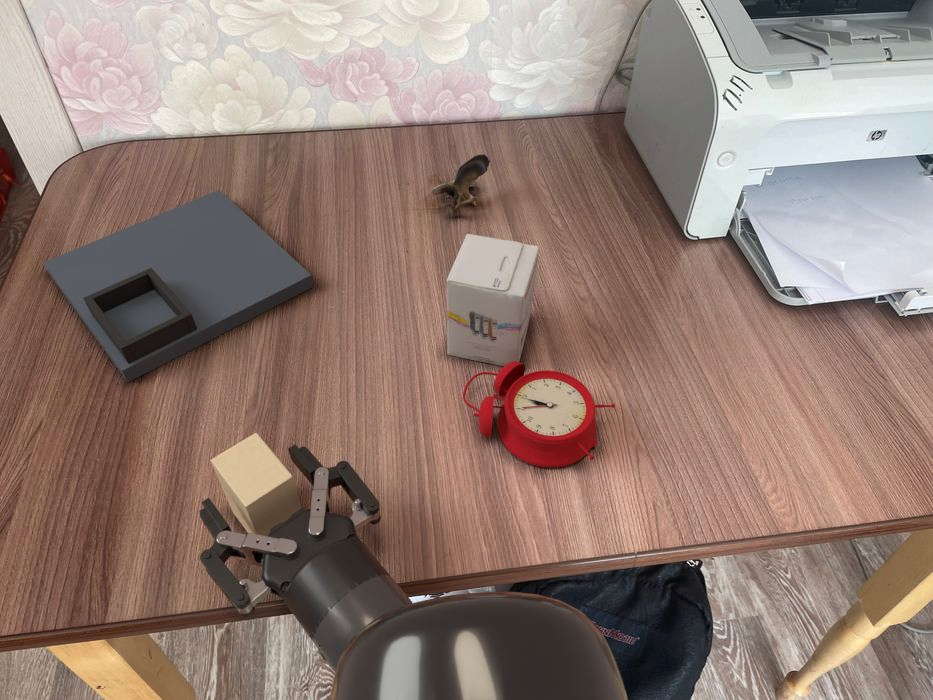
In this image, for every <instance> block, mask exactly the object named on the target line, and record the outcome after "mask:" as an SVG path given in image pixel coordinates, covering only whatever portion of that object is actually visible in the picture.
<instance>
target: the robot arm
mask: <svg viewBox="0 0 933 700" xmlns="http://www.w3.org/2000/svg"><path fill="white" fill-rule="evenodd" d="M287 450H288V454H289V458H290V460H291V462H292V463H293V464H294V465H295V466H296V468H297V469H298V470H299V471H300V472H301V474H302V475H303V476H304V477H305V478H306V480H307V481H308V482H309V483H310V485H311V486H312V487H313V489H312V491H311V502H310V508H305V509H303V507H302V508H301V509H299V510H298V511H296V512H295V513H294V514H293V515H292V516H291V517H290V518H289V519H288V520H287V521H285V522H282V523H280V524H277V525H276V526H274V527H273V528H271V529H270V533H269V535H268V536H264V535H259V534H254V533H248V532H247V533H240V532H235V531H233V530H232V529H231V526H230V525H229V523H228V521H226V519H225V518H224V516H223V514H222V513H221V512H220V511H219V510H218V508H217V507H216V505H215V504H214V503H213V501H212V499H211V498H210V497H207V498H205V499H204V500H202V501H201V503H200V504H201V505H202V507H203V508H201V509H200V510H199V511H198V512H199V518H200V519H201V521H202V523H203V525H204V526H205V528H206V529H207V531H208V532H209V534H210V535H211V537H212V538H213V539H214V541H213V544H212V545H211V546H210V547H209V548H207V549H204V550H203V551H201V553H200V555H199V560H200V562H201V564H202V565H203V567H204V568H205V571H206V573H207V574H208V575H209V577H210V579H212V581H213V582H214V583H215V585H216V586H217V587H218V588H219V590H220V591H221V592H222V593H223V595H224V596H225V598H226V599H227V600H228V601H229V602H230V604H231V605H232V607H233V608H234V609H235V610H236V611H237V613H238V614H239V616H241V617H243V618H249V617H251V616H252V615H254V612H255V610H256V608H255V606H256V605H258V603H260V602H261V601H262V600H263V599H265V598H266V597H267V596H269V595H270V594H272V595H275V596H278V597H279V598H280V599H281V600H282V601H283V602H284V603H285V605H286V606H287V608H288V609H289V610H290V612H291V613H292V615H293V616H294V617H295V619H296V620H297V622H298V623H299V624H300V626H301V628H302V629H303V630H304V632H305V633H306V634H307V636H308V637H309V638H310V640H311V641H312V643H313V644H314V646H315V647H316V648H317V649H318V653H319V655H320V656H321V658H322V659H323V660H324V661H325V662H326V663H327V664H328V665H329V666H330V667H331V669H332V670H333V671H334V677H333V681H332V686H331V690H330V695H329V696H330V697H329V700H629V699H628V695H627V689H626V687H625V684H624V679H623V675H622V674H621V670H620V668H619V665H618V663H617V659H616V656H615V654H614V652H613V650H612V648H611V646H610V644H609V642H608V641H607V639H606V637H605V635H604V634H603V632H602V630H601V629H600V627H599V626H598V625H597V624H596V623H595V622H594V621H593V620H592V619H590V618H589V616H587V614H585V613H584V612H582V611H581V610H579V608H576V607H575V606H573V605H571V604H568V603H566V602H564V601H562V600H560V599H555V598H552V597H548V596H544V595H541V594H537V593H527V592H519V591H480V592H470V593H459V594H451V595H450V594H449V595H443V596H438V597H433V598H429V599H425V600H420V601H415V602H413V601H412V600H411V599H410V597H409V596H408V595H407V593H406V592H405V591H404V590H403V589H402V588H401V586H400V585H399V584H398V582H397V581H396V580H395V579H394V578H393V577H392V576H391V574H390V573H389V572H388V571H387V569H385V567H384V566H383V565H382V564H381V563H380V561H379V560H378V559H377V557H376V556H374V554H373V553H372V552H371V550H370V549H369V548H368V547H367V546H366V545H365V544H364V542H363V541H362V540H361V539H360V538H359V536H358V534H357V531H358V530H360V529H361V528H363V527H365V526H366V525H368V524H370V525H374V526H375V525H378V524H379V523H380V522H381V519H382V515H381V508H380V502H379V500H378V498H377V497H376V496H375V495H374V494H373V492H372V491H371V490H370V488H369V487H368V485H366V483H365V482H364V481H363V480H362V478H361V477H360V475H359V474H358V473H357V472H356V470H355V469H354V468H353V467H352V465H351V464H350V463H349V461H347V460H340V461H338V462H337V463H336V465H335V466H331V467H326V466H324V465H323V464H322V463H321V462H320V461H319V460H318V458H317V457H316V456H315V455H314V454H313V453H312V452H311V450H310V449H309V448H307V447H306V446H301V447H298V446H297V444H293V445H291V446H289V447H288V448H287ZM336 487H341V489H343V490H344V493H346V495H347V496H348V498H350V500H351V502H352V503H351V511H352V514H351V516H350V517H349V516H347V515H343V514H339V513H336V512H335V513H334V512H332V489H334V488H336ZM229 559H233V560H239V561H243V562H247V563H248V564H249V565H252V566H256V567H261V569H262V570H261V580H260V581H257V582H255V581H252V580H251V579H249V578H241V579H240V581H239V580H238V579H237V578H236V576H235V575H234V574H233V572H232V571H231V570H230V568H229V567H227V565H226V563H227V561H228V560H229Z"/></svg>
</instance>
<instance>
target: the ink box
mask: <svg viewBox="0 0 933 700" xmlns="http://www.w3.org/2000/svg"><path fill="white" fill-rule="evenodd" d="M539 251H540V246H539V245H533V244H526V243H522V242H520V241H515V240H510V239H509V240H508V239H500V238H496V237H492V236H491V237H490V236H484V235H479V234H472V233H467V234H466V235H465V237H464V239H463V242H462V244H461V245H460V249H459V251H458V253H457V255H456V258H455V260H454V263H453V264H452V267H451V269H450V271H449V274H448V276H447V279H446V309H447V310H446V311H447V312H446V313H447V315H446V328H447V329H446V330H447V335H446V336H447V341H446V342H447V343H446V345H447V347H446V350H447V355H448V356H452V357H457V358H460V359H464V360H465V359H466V360H471V361H476V362H479V363H480V362H481V363H486V364H490V365H495V366H501V367H504V366H505V365H506V364H508V363H510V362H513V361H518V362H520V360H521V356H522V353H523V349H524V345H525V341H526V338H527V333H528V330H529V327H530V322H531V317H532V309H533V302H534V301H533V300H534V293H535V283H536V276H537V269H538V268H537V267H538V260H539Z"/></svg>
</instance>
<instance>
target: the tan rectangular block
mask: <svg viewBox="0 0 933 700" xmlns="http://www.w3.org/2000/svg"><path fill="white" fill-rule="evenodd" d="M210 464H211V465H212V468H213V470H214V472H215V474H216V477H217V479H218V481H219V484H220V486H221V488H222V491H223V493H224V495H225V498H226V500H227V502H228V505H229V507H230V510H231V511H232V513H233V515H234V516H235V517H236V519H237V520H238V521H239V523H240V524H241V525H242V527H243V528H244V529H245V531H246V532H247V533H254V534H259V535H264V536H268V535H269V533H270V529H271V528H273V527H274V526H276V525H277V524H280V523H282V522H285V521H287V520H288V519H289V518H290V517H291V516H292V515H293V514H294V513H295V512H296V511H298V510H299V509H301V508H302V509H303V507H302V504H301V501H300V497H299V493H298V490H297V486H296V483H295V480H294V476H293V475H292V474H291V472H290V471H289V470H288V469H287V467H286V466H285V465H284V463H282V462H281V460H280V459H279V458H278V456H276V454H275V453H274V451H272V449H271V448H270V447H269V446H268V445H267V443H266V442H265V441H264V440H263V439H262V438H261V436H260V435H259V434H258V432H255V433H253V434H251V435H249V436H248V437H246V438H244V439H243V440H241V441H239V442H238V443H236V444H234V445H232V446H231V447H230V448H228V449H226V450H224V451H223V452H221V453H220V454H217V455H216V456H214V457H213V458H211V459H210Z"/></svg>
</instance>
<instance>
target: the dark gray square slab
mask: <svg viewBox="0 0 933 700" xmlns="http://www.w3.org/2000/svg"><path fill="white" fill-rule="evenodd" d="M42 264H43V266H44V267H45V269H46V272H48V275H49V276H50V278H51V279H52V280H53V281H54V283H55V285H56V286H57V287H58V288H59V290H60V292H62V294H63V295H64V296H65V298H66V300H67V301H68V302H69V303H70V305H71V306H72V308H73V309H74V311H75V312H76V313H77V315H78V317H80V319H81V320H82V322H83V323H84V324H85V326H86V327H87V328H88V330H89V331H90V333H91V334H92V335H93V337H94V338H95V339H96V341H97V342H98V344H99V345H100V346H101V348H102V349H103V351H104V352H105V353H106V354H107V356H108V358H109V359H110V360H111V362H112V363H113V364H114V365H115V367H116V368H117V370H118V371H119V373H120V374H121V375H122V376H123V378H124V380H125V381H126V382H127V383H130V382H132V381H134V380H136V379H137V378H140V377H141V376H143V375H146V374H147V373H150V372H151V371H153V370H155V369H157V368H159V367H161V366H163V365H165V364H166V363H169V362H172V361H173V360H174V359H177V358H178V357H180V356H182V355H185V354H186V353H188V352H190V351H192V350H194V349H196V348H198V347H200V346H202V345H203V344H205V343H207V342H210V341H212V340H213V339H215V338H217V337H219V336H221V335H223V334H225V333H228V332H229V331H231V330H234V329H235V328H236V327H238V326H240V325H242V324H245V323H246V322H249V321H250V320H252V319H254V318H256V317H258V316H259V315H262V314H263V313H266V312H267V311H269V310H271V309H273V308H275V307H277V306H279V305H281V304H284V303H286V302H287V301H289V300H290V299H294V298H295V297H297V296H299V295H300V294H302V293H304V292H306V291H308V290H310V289H312V288H314V282H313V275H312V273H310V272H309V271H308V270H307V269H306V268H304V267H303V266H302V265H301V263H299V262H298V261H297V260H296V259H295V258H294V257H293V256H291V255H290V254H289V253H288V251H287V250H285V249H284V248H283V247H282V246H281V245H280V244H279V243H278V242H276V241H275V240H274V239H273V238H272V237H271V236H270V235H269V234H268V233H267V232H266V231H265V230H264V229H262V228H261V226H260V225H259V224H257V223H256V222H255V221H254V220H253V219H252V218H250V217H249V215H247V214H246V213H245V212H244V211H243V210H242V209H241V208H240V207H239V206H238V205H237V204H236V203H235V202H234V201H232V200H231V199H230V198H229V197H228V196H227V195H226V194H225V193H224V192H222V190H220V189H217V190H215V191H213V192H210V193H208V194H206V195H203V196H200V197H198V198H196V199H193V200H191V201H188V202H186V203H183V204H181V205H179V206H176V207H173V208H172V209H169V210H166V211H164V212H162V213H159V214H157V215H155V216H152V217H150V218H147V219H145V220H143V221H140V222H138V223H137V222H136V223H135V224H132V225H130V226H128V227H125V228H122V229H120V230H118V231H115V232H113V233H110V234H108V235H106V236H104V237H100V238H98V239H96V240H94V241H91V242H89V243H86V244H84V245H82V246H81V245H80V246H79V247H76V248H74V249H72V250H70V251H67V252H65V253H62V254H60V255H58V256H55V257H52V258H50V259H47V260H45V261H43V262H42Z"/></svg>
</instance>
